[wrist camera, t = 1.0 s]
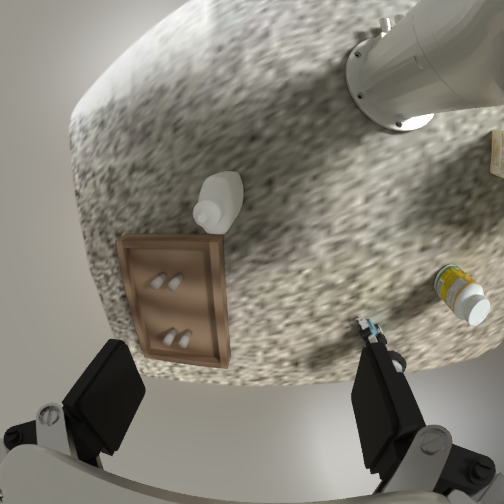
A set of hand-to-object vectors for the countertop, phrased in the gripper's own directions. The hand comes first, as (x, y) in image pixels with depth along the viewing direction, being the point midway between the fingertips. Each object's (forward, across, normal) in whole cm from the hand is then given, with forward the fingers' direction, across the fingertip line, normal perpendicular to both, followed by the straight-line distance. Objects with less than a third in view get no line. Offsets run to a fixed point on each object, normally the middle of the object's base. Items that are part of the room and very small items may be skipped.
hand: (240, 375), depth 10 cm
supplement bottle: (+24, -27, +9) cm, 38 cm away
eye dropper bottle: (+25, +4, -4) cm, 25 cm away
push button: (+25, -15, +16) cm, 33 cm away
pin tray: (+25, +13, +11) cm, 30 cm away
